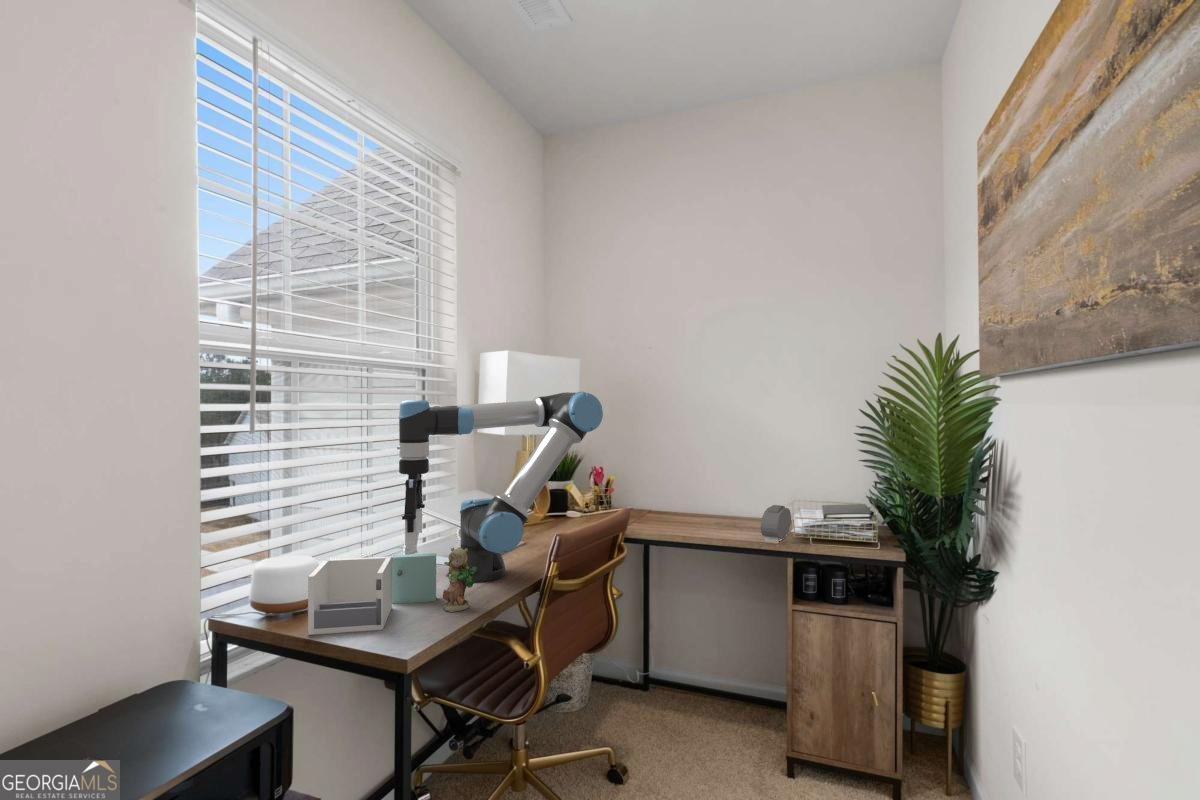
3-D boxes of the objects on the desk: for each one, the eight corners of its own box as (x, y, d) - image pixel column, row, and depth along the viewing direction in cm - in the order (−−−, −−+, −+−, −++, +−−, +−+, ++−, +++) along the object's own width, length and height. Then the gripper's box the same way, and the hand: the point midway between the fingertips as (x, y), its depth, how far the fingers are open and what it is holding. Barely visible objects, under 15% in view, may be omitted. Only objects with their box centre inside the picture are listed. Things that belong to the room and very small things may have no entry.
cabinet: (391, 607, 152) (392, 556, 152) (382, 630, 137) (382, 573, 137) (324, 612, 149) (324, 559, 149) (307, 635, 134) (307, 576, 134)
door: (436, 597, 160) (436, 553, 160) (435, 602, 156) (435, 556, 156) (393, 600, 158) (393, 555, 158) (391, 604, 154) (391, 558, 154)
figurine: (435, 609, 151) (435, 550, 151) (456, 600, 158) (456, 544, 158) (463, 615, 147) (463, 555, 146) (483, 606, 153) (483, 548, 153)
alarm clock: (775, 532, 239) (775, 500, 239) (791, 534, 236) (791, 501, 236) (760, 544, 219) (760, 509, 219) (777, 546, 216) (777, 511, 216)
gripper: (405, 454, 169) (405, 528, 169) (392, 463, 144) (391, 550, 145) (432, 453, 170) (432, 527, 170) (424, 463, 146) (423, 549, 146)
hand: (413, 538), depth 158 cm, fingers open, 13 cm apart
